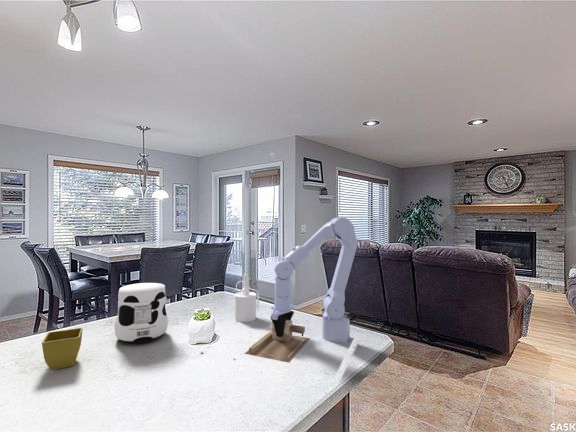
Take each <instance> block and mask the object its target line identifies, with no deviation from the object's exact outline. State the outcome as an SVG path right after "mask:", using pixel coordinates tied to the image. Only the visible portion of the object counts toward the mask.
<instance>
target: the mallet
mask: <svg viewBox="0 0 576 432" xmlns="http://www.w3.org/2000/svg"><path fill="white" fill-rule="evenodd" d="M271 327H272V329H271V330H272V339H275V340H281V341H287V342H288V341H289V340H290V339H291V338H292V335H293V333H295V334H296V333H297V334H301V337H304V334H305V332H306V326H302V325H297V324H296V325H294V324H293V320H292V319H291V320H286V323H285V327H284V334H283V337H277V336H276V331H275V327H274V324H273V322H272V321H271Z"/></svg>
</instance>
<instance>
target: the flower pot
mask: <svg viewBox="0 0 576 432" xmlns="http://www.w3.org/2000/svg"><path fill="white" fill-rule="evenodd" d="M82 337H83V327H78V328H76V327H75V328H71V329H70V328H69V329H65V330H55V331H49V332H47V333H46V334H45V336H44V338H43V340H42V342H41V347H42V355H43V359H44V362H45V364H46V366H47V367H48V368H49V369H50V370H51V371H53V370H59V369H64V368H70V367H73V366H74V365H75V363H76V361H77V359H78V354H79V352H80V349H81V345H82Z"/></svg>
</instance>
